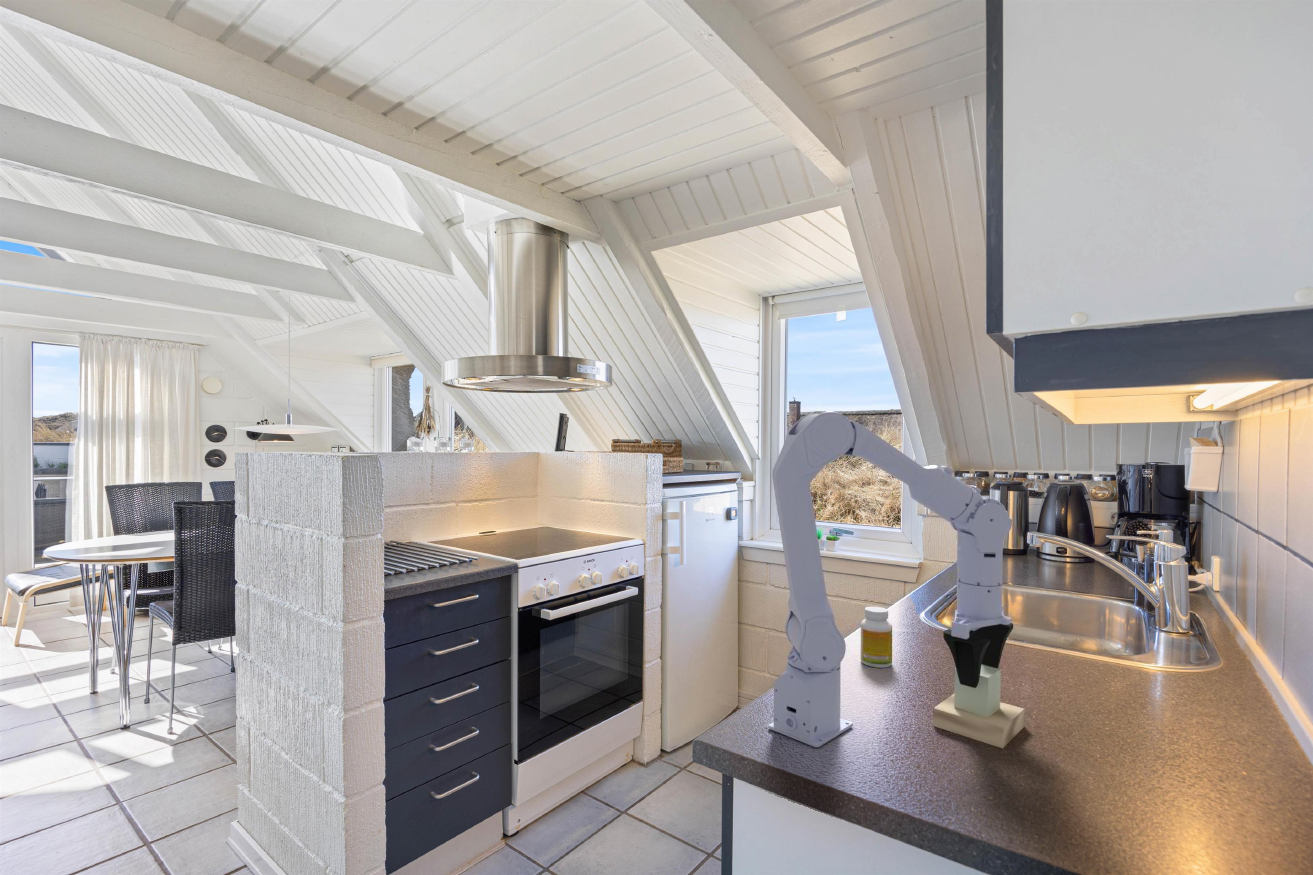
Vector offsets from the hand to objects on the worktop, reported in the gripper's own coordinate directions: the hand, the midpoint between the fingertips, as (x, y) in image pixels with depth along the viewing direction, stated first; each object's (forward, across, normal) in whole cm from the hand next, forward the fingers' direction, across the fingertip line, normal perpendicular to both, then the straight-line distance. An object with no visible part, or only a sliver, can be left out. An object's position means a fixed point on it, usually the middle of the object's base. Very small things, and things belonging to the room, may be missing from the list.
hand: (978, 678), depth 90 cm
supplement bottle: (+7, +13, +22) cm, 26 cm away
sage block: (+4, 0, 0) cm, 4 cm away
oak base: (+7, 0, 0) cm, 7 cm away
